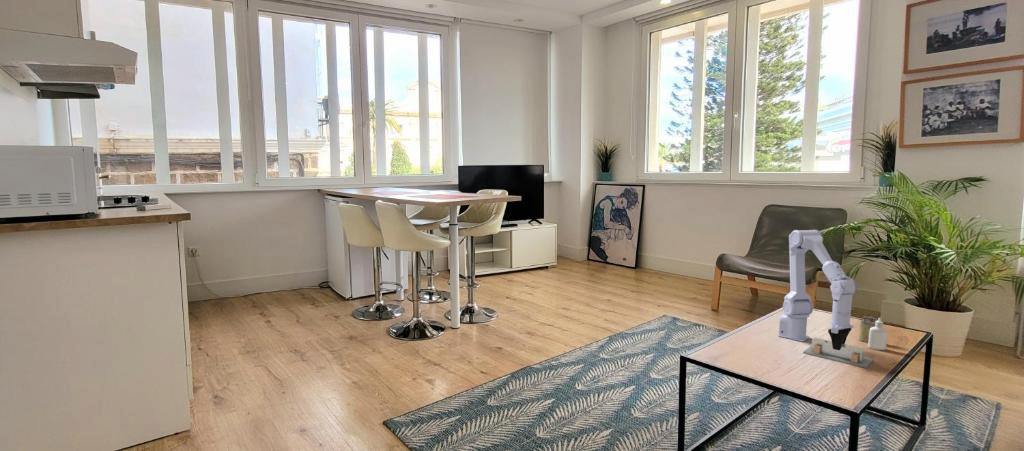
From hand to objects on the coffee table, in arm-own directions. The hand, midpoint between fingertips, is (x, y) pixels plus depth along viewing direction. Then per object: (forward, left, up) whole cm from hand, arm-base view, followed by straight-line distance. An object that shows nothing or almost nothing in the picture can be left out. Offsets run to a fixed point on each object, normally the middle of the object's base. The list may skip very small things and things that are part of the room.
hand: (838, 348), depth 193 cm
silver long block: (0, 0, -3) cm, 3 cm away
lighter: (+4, +28, -4) cm, 29 cm away
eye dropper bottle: (+8, +21, -4) cm, 23 cm away
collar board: (0, 0, -3) cm, 3 cm away
